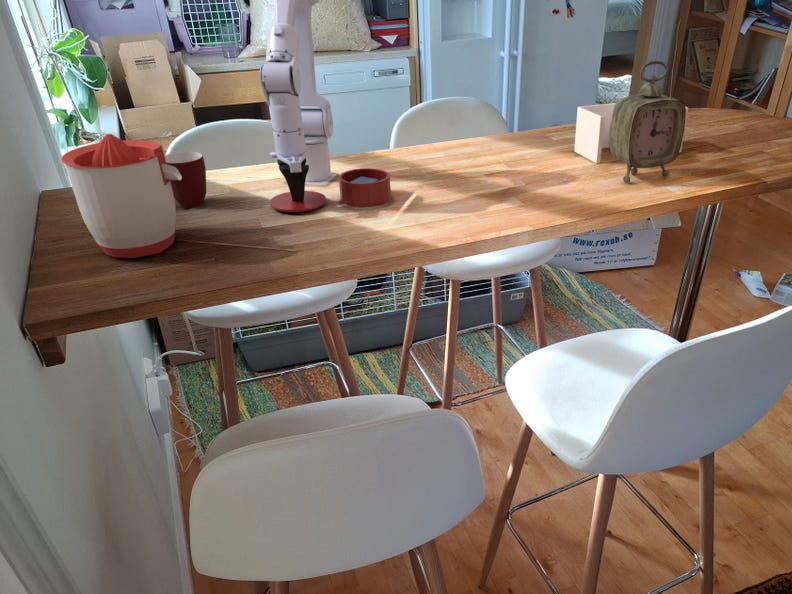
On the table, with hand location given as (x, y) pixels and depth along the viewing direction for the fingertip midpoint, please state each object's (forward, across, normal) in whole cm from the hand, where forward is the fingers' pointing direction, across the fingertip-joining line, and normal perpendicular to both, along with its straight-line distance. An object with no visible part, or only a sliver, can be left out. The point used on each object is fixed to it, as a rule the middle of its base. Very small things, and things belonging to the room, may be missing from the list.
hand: (297, 197), depth 140 cm
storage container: (+3, -16, +84) cm, 86 cm away
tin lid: (+1, 0, 0) cm, 1 cm away
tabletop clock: (+3, +3, +77) cm, 77 cm away
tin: (+2, 0, +14) cm, 14 cm away
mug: (+2, -8, -22) cm, 23 cm away
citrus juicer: (+2, +11, -28) cm, 31 cm away
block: (+2, 0, +14) cm, 14 cm away
